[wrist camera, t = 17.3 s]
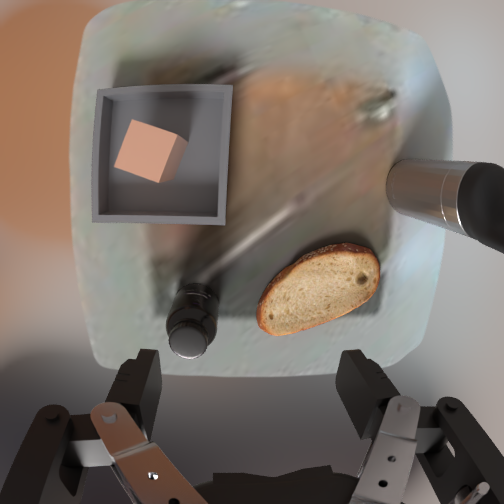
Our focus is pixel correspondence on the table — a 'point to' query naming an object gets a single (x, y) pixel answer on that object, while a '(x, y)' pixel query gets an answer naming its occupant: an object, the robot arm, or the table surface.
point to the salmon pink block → (151, 152)
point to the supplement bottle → (192, 320)
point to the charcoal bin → (192, 163)
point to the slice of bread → (318, 288)
